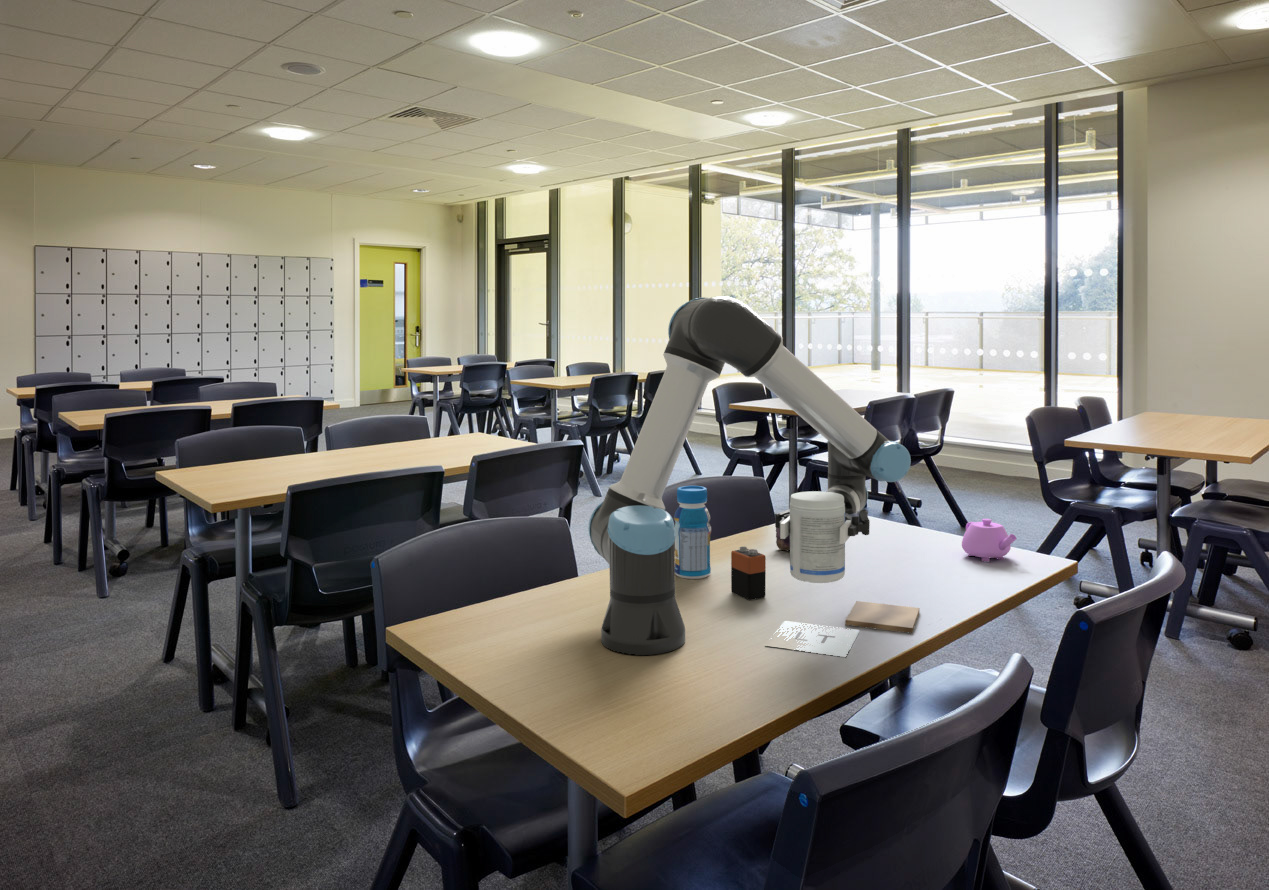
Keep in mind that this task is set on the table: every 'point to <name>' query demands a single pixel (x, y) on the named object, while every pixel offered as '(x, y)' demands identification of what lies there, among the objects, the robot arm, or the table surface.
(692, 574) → the beverage bottle
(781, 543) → the rock
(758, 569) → the battery
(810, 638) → the label card
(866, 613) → the walnut square
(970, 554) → the teapot
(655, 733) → the table surface
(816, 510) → the supplement tub
